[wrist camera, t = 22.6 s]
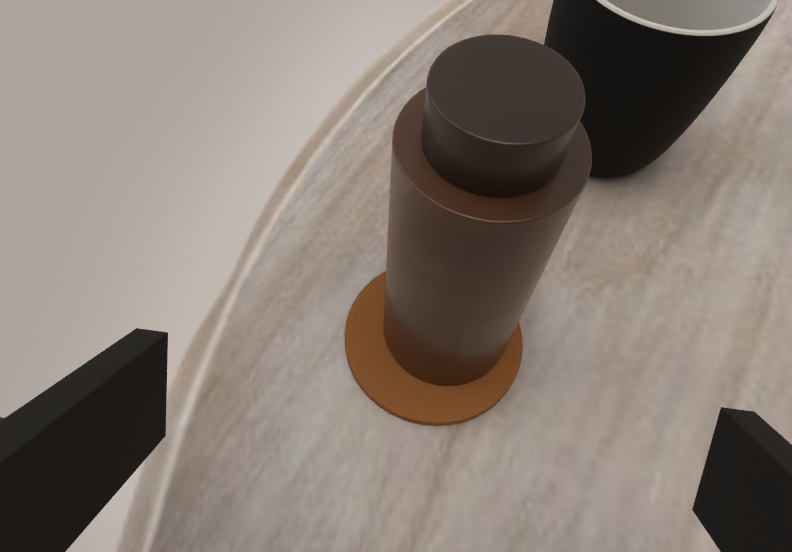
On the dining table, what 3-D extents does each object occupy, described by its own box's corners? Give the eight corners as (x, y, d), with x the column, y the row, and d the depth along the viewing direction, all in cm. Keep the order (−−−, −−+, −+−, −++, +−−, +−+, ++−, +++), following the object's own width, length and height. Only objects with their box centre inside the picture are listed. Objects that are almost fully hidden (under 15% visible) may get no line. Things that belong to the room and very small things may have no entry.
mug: (704, 181, 32) (827, 17, 24) (553, 212, 31) (626, 50, 22) (609, 39, 38) (679, -134, 30) (477, 60, 37) (511, -116, 28)
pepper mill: (392, 393, 25) (413, 181, 13) (376, 280, 28) (381, 20, 16) (519, 378, 26) (651, 161, 14) (491, 268, 29) (580, 8, 17)
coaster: (353, 436, 25) (353, 433, 24) (338, 271, 29) (338, 267, 28) (539, 414, 25) (542, 411, 25) (499, 257, 29) (501, 252, 29)
